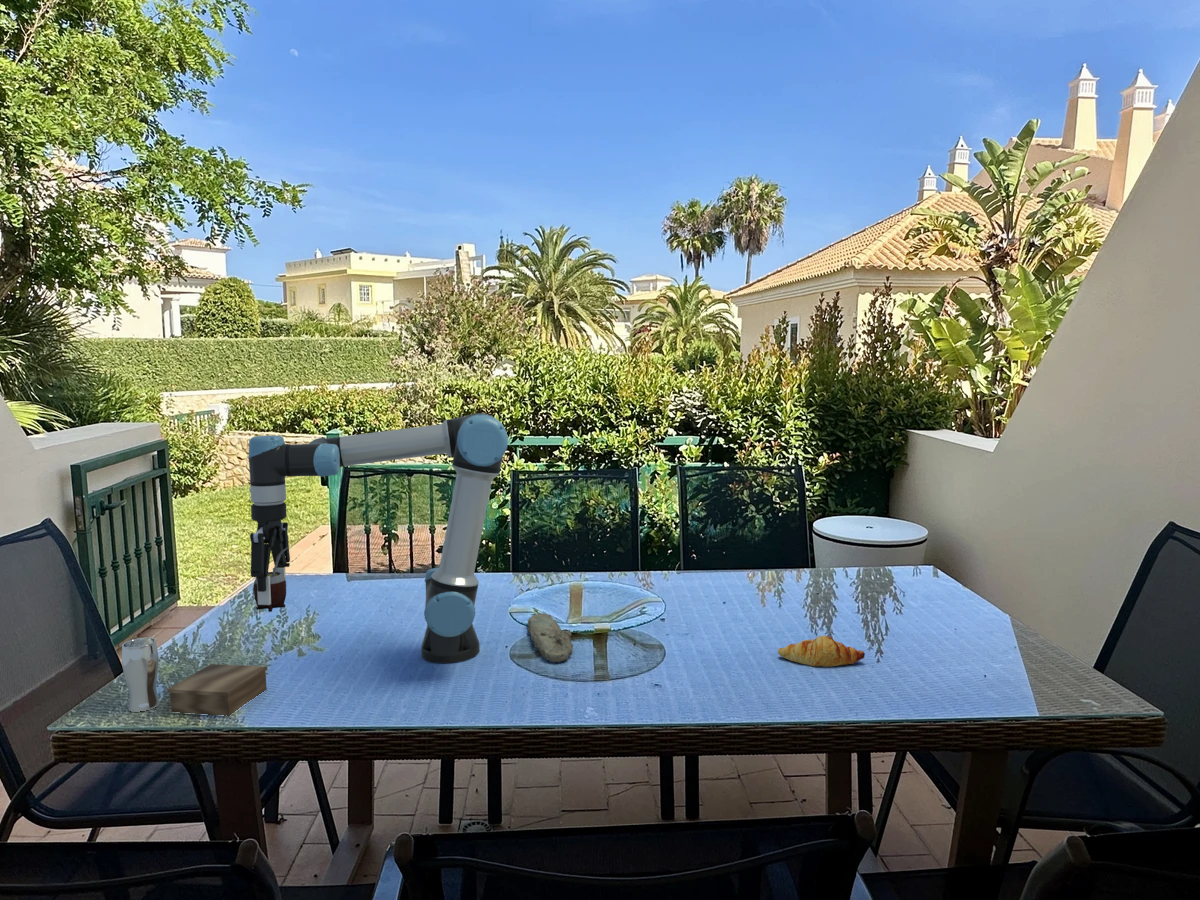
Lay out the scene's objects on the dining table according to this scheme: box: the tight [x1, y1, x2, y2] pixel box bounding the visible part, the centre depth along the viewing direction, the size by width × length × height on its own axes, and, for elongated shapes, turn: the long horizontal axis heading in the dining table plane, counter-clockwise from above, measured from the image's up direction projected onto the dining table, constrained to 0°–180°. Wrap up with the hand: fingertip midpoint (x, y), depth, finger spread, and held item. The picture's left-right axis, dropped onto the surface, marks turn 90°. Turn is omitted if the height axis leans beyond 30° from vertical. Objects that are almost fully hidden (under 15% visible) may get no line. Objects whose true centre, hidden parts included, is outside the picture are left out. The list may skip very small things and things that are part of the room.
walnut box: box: [167, 663, 268, 717], centre depth 174 cm, size 15×15×6 cm
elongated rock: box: [527, 612, 574, 663], centre depth 210 cm, size 35×5×10 cm
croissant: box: [777, 634, 866, 668], centre depth 193 cm, size 21×10×8 cm, turn 79°
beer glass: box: [121, 637, 161, 713], centre depth 171 cm, size 7×7×15 cm
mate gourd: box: [252, 547, 288, 613], centre depth 178 cm, size 8×8×15 cm
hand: (272, 599), depth 179 cm, fingers closed on mate gourd, 7 cm apart
